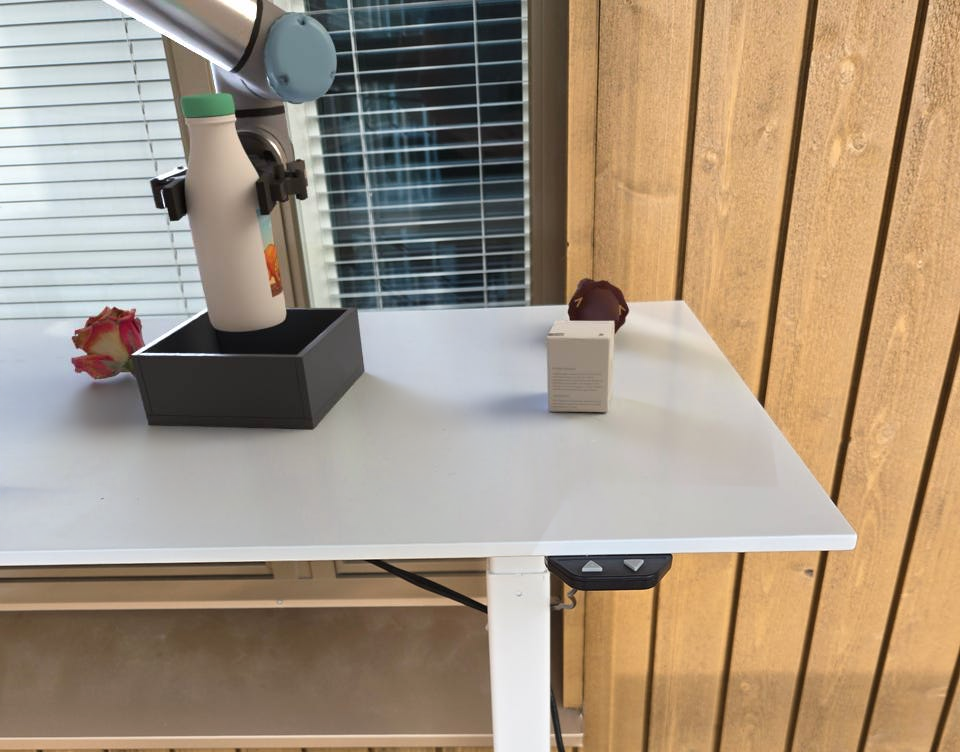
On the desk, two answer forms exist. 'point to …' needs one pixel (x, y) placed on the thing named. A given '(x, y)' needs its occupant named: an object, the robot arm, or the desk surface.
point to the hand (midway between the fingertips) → (216, 201)
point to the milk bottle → (229, 221)
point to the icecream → (598, 303)
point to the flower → (108, 343)
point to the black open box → (251, 371)
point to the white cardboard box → (580, 366)
